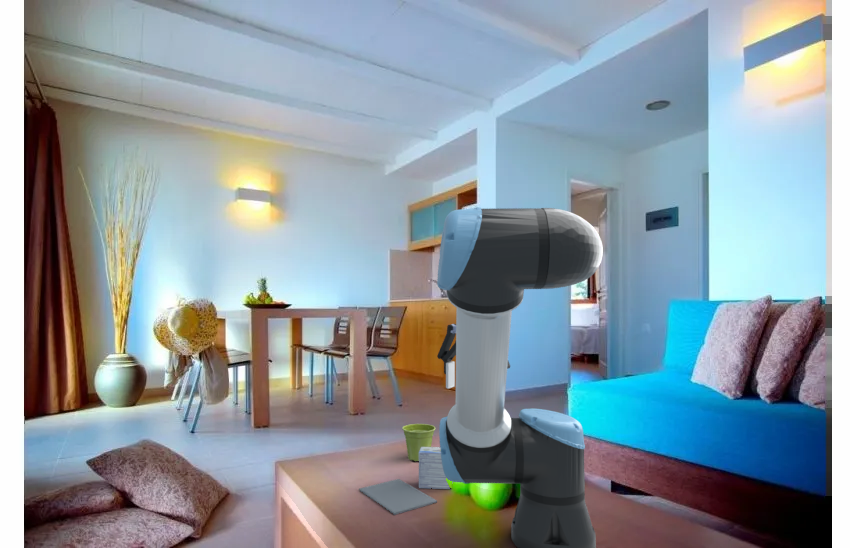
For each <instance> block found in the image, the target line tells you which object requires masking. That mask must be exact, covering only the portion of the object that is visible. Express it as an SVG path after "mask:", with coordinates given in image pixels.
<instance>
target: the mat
mask: <svg viewBox="0 0 850 548" xmlns="http://www.w3.org/2000/svg"><path fill="white" fill-rule="evenodd" d="M359 490H360V492H361V493H362V492H363V493H362V494H364V495H365V496H366V495H367V498H369V497H370V498H369V499H371V500H372V499H373V500H372V501H373V502H375V501H376V502H377V504H378V503H379V504H380V505H379V504H378V505H379V506H381V505H382V506H383V507H382V506H381V507H382V508H384V507H385V508H386V509H385V508H384V509H385V510H387V511H388V510H389V511H390V512H389V511H388V512H389V513H391V514H392V513H393V514H392V515H394V516H396V515H400V514H402V513H406V512H409V511H413V510H416V509H419V508H423V507H426V506H430V505H434V504H436V503H437V502H438V500H437V499H435V498H434V497H432V496H430V495H429V494H428V495H427V494H426V493H424V492H423V491H421V490H419V489H417V488H416V487H414V486H413V485H410V484H409V483H407V482H405V481H404V480H402V479H400V478H396V479H393V480H389V481H384V482H381V483H380V482H379V483H377V484H376V483H375V484H372V485H367V486H364V487H360V488H358V491H359ZM376 502H375V503H376ZM433 503H434V504H433ZM399 513H400V514H399Z"/></svg>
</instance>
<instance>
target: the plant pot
mask: <svg viewBox="0 0 850 548" xmlns="http://www.w3.org/2000/svg"><path fill="white" fill-rule="evenodd" d="M401 429H402V431H403V434H404V437H405V444H406V451H407V459H408V460H409V461H414V462H416V461H419V451H420V448H421V447H432V443H433V435H434V432H435V430H436V427H435V426H434V424H433V425H432V424H428V423H412V424H406V425H403V426H402V428H401Z"/></svg>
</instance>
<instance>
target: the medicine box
mask: <svg viewBox="0 0 850 548" xmlns="http://www.w3.org/2000/svg"><path fill="white" fill-rule="evenodd" d="M418 488H419V489H431V488H432V489H433V490H434V489H436V490H438V489H440V490H451V489H450V487H449V485H448V483H447V481H446V476H445V474H444V471H443V466H442V460H441V449H440V446H431V447H421V448H420V451H419V462H418Z"/></svg>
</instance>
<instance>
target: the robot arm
mask: <svg viewBox="0 0 850 548" xmlns="http://www.w3.org/2000/svg"><path fill="white" fill-rule="evenodd" d="M603 247H604V246H603V242H602V238H601V237H600V235H599V233H598V232H597V230H596V228H595V227H593V225H592V224H591V223H589V222H588V220H586V219H584V218H583V217H582V216H579V215H578V214H575V213H574V212H570V211H568V210H564V209H560V208H554V207H541V208H539V207H537V208H534V207H533V208H531V207H530V208H528V207H527V208H526V207H525V208H523V207H521V208H519V207H518V208H517V207H515V208H509V207H508V208H481V207H478V206H477V207H474V208H465V209H455V210H452V211H450V212H449V213H448V214H447V215H446V217H445V219H444V223H443V227H442V233H441V240H440V248H439V259H438V265H437V267H438V269H437V279H436V280H437V281H436V282H437V284H436V285H437V287H438V288H439V289H440V290H443V291H446V297H447V299H448V301H449V302H450V304H451V305H453V306H454V307H455V308H456V314H455V315H456V318H455V320H456V323H452V324H448V325H447V326H446V327H447V329H446V335H445V337H444V338H443V341H442V343H441V347H440V348H439V351H438V353H437V358H438V359H439V360H442V362H443V373H444V375H445V389H448V390H449V389H451V388H455V404H454V405H453V406H452V407H451V408H450V410H449V411H448V414H447V416H445V417H442V418H440V421H439V426H438V427H439V430H438V433H439V434H438V436H439V447H440V449H441V460H442V466H443V471H444V474H445V476H446V478H447V479H448V480H450V481H452V483H462V484H467V485H469V484H512V485H513V484H519V485H520V492H519V493H520V496H519V498H518V502H517V505H516V509H515V511H514V517H513V518H512V520H511V527H510V528H511V530H510V533H511V540H512V542H513V544H514V545H515V546H516V547H517V548H597V545H596V543H597V542H596V541H597V539H596V537H597V536H596V531H595V528H594V526H593V524H592V521H591V517H590V513H589V511H588V507H587V504H586V496H585V495H586V493H585V492H586V491H585V489H586V488H585V483H586V482H585V480H586V479H585V449H586V445H585V437H584V429H583V426H582V424H581V422H580V421H579V420H577V419H576V418H574V417H572V416H570V415H567V414H565V413H562V412H558V411H554V410H549V409H541V408H534V407H533V408H523V409H521V410H520V411H519V414H518V417H511V416H510V413H509V412H508V411H507V409H506V408H505V402H506V401H505V400H506V388H507V378H508V369H510V368H511V364H510V362H509V351H510V339H511V338H510V336H511V328H512V327H511V326H512V324H511V323H512V311H514V310H516V309H517V308H518V307H519V306H520V305H521V304H522V302H523V300H524V292H525V290H549V289H550V290H551V289H561V288H565V287H570V286H574V285H577V284H579V283H582V282H584V281H587V280H588V279H590V278H591V277H592V276H593V275H594V274H595V273H596V271H597V270H598V269H599V267H600V264H601V263H602V260H603V254H604V253H603V251H604V249H603ZM455 338H456V339H455ZM454 340H455V341H454ZM453 342H454V343H453ZM454 357H455V361H454Z"/></svg>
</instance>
